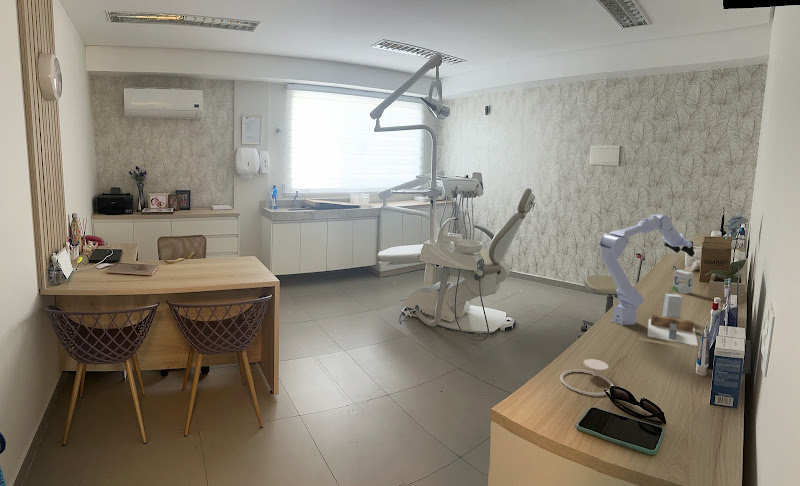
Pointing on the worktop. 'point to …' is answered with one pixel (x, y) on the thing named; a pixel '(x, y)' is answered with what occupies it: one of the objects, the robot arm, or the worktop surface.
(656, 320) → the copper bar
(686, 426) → the worktop surface
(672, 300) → the skincare box
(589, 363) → the hand towel holder
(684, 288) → the ink box
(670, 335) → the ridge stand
